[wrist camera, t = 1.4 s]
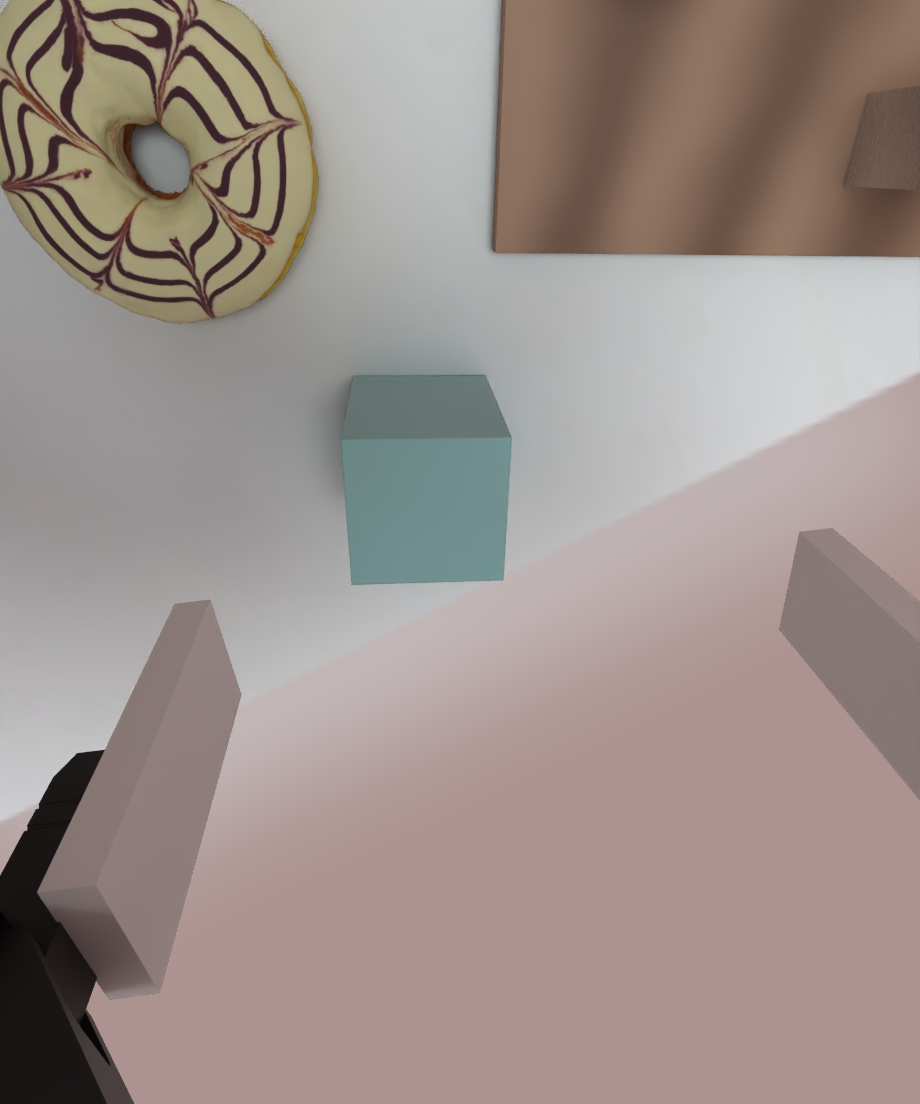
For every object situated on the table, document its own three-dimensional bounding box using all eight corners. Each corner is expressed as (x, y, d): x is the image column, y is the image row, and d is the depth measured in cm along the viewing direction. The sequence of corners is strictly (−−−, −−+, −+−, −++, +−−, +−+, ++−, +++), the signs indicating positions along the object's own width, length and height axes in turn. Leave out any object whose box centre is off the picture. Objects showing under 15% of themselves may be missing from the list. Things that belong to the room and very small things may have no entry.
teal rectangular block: (360, 496, 32) (351, 584, 25) (353, 375, 29) (340, 439, 23) (481, 494, 33) (503, 580, 26) (485, 375, 30) (511, 437, 23)
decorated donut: (69, -110, 21) (10, -160, 18) (370, 109, 25) (366, 100, 21) (-17, 204, 25) (-79, 210, 22) (252, 354, 29) (234, 378, 25)
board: (492, 249, 27) (515, 270, 22) (512, -258, 20) (552, -402, 15) (955, 254, 29) (1077, 274, 24) (1122, -215, 22) (1348, -332, 17)
